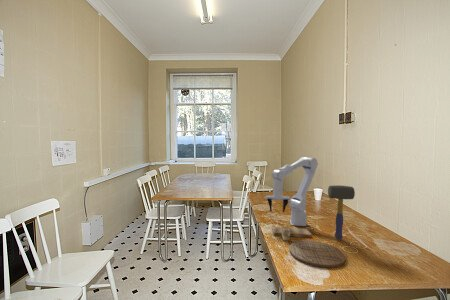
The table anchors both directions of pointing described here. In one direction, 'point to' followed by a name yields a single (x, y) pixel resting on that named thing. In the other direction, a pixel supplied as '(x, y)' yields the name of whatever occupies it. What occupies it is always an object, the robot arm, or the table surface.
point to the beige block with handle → (285, 233)
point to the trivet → (317, 254)
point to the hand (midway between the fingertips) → (277, 211)
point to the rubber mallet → (340, 204)
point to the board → (292, 232)
